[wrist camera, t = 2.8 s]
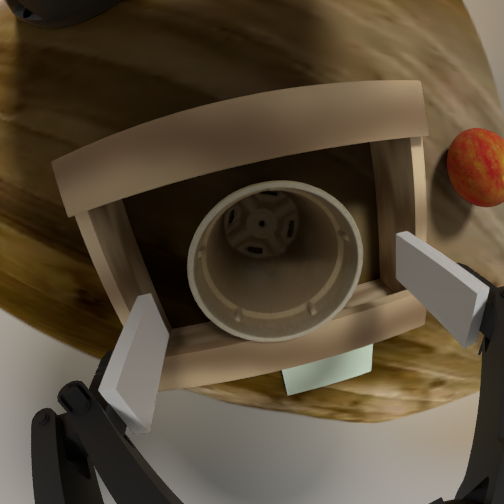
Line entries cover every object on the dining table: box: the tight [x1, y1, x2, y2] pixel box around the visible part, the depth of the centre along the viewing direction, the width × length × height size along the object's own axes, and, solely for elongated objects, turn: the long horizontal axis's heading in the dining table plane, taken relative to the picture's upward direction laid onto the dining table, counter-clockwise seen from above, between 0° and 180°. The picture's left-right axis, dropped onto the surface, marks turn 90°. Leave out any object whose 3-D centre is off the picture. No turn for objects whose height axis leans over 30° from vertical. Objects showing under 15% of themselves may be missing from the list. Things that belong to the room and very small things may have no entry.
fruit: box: [447, 128, 504, 207], centre depth 19 cm, size 7×7×8 cm
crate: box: [51, 80, 429, 391], centre depth 20 cm, size 18×22×7 cm
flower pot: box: [187, 180, 363, 342], centre depth 19 cm, size 9×9×9 cm
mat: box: [282, 344, 373, 395], centre depth 29 cm, size 10×10×1 cm
